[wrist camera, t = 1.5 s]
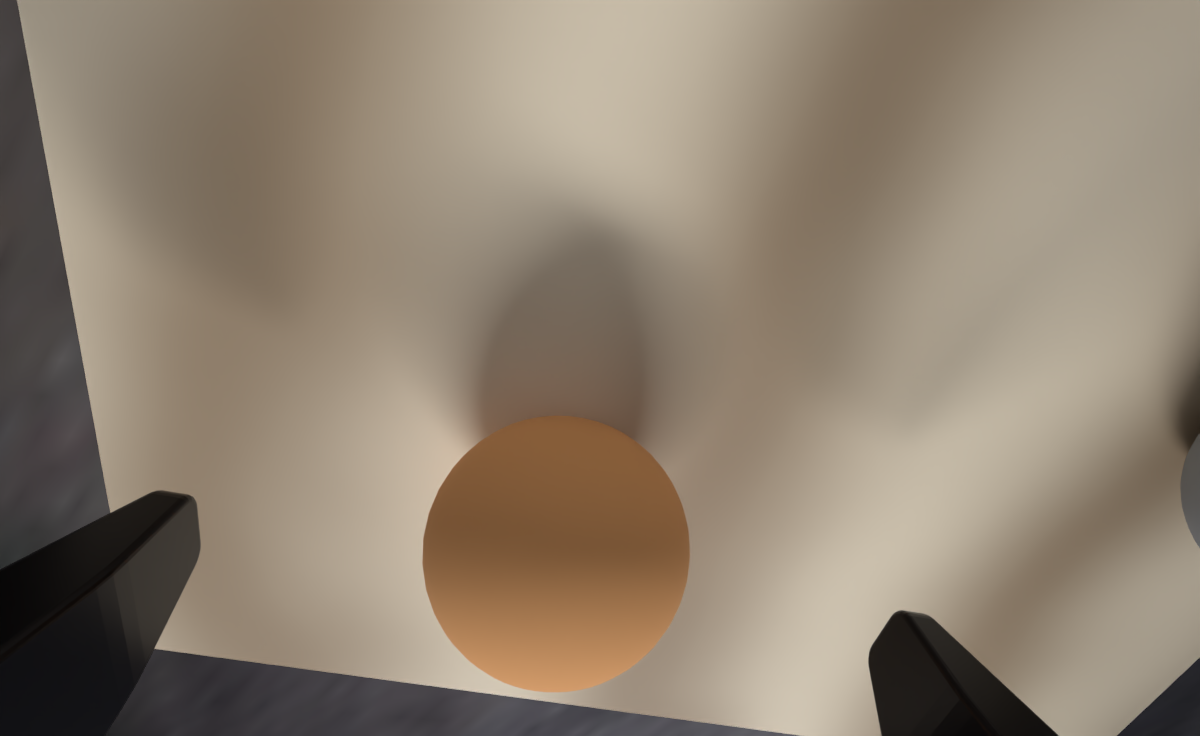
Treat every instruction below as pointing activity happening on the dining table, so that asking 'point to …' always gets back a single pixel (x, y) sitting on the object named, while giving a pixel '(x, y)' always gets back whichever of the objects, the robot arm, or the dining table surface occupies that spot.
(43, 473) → the dining table surface
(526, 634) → the ball
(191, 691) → the dining table surface
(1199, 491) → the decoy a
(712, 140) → the board
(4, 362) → the dining table surface
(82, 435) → the dining table surface
